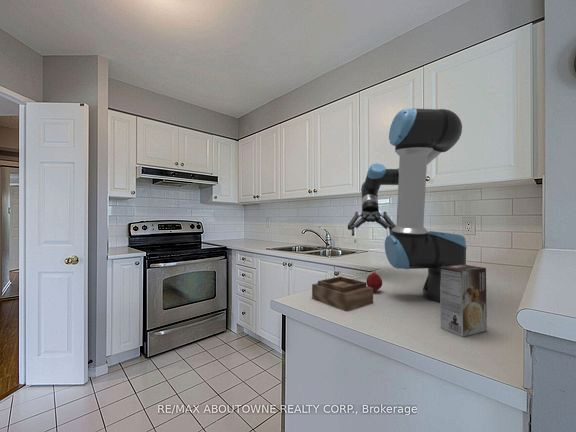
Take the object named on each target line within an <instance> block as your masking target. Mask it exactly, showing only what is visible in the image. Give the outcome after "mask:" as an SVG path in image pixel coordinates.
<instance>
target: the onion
mask: <svg viewBox="0 0 576 432" xmlns="http://www.w3.org/2000/svg"><path fill="white" fill-rule="evenodd" d="M365 281H366V286H367V287H371V288H373V293H375V292H377V291H379V290H380V289H381V288H382V286H383V279H382V277H381V276H380V275H379V274H378V273H377V272H376V270H373V271H372V273H371V274H369V275H368V276H367V277H366V280H365Z"/></svg>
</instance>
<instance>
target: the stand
mask: <svg viewBox="0 0 576 432" xmlns="http://www.w3.org/2000/svg"><path fill="white" fill-rule="evenodd" d="M311 299H312V300H314V301H318V302H320V303H324V304H325V305H329V306H331V307H334V308H337V309H340V310H343V311H345V312H349V311H353V310H355V309H358V308H361V307H362V308H363V307H364V306H367V305H372V304H374V292H373V288H371V287H368V286H367V283H366V282H365V281H362V280H356V279H353V278H349V277H345V276H337V277H331V278H326V279H322V280H318V281H317V283H312V284H311Z"/></svg>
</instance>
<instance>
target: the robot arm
mask: <svg viewBox="0 0 576 432" xmlns="http://www.w3.org/2000/svg"><path fill="white" fill-rule="evenodd" d="M462 132H463V124H462V121H461V119H460V117H459V116H458V114H457V113H455V112H454V111H453V110H449V109H446V108H439V109H438V108H437V109H436V108H435V109H432V108H416V107H414V108H404V109H401V110H399V111H398V112H396V114H395V116H394V117H393V119H392V121H391V124H390V127H389V132H388V140H389V144H390V145H391V146H393V147H394V152H395V153H396V155H397V156H398V157H399V162H398V165H399V166H398V167H397V168H387V167H386V166H385V165H383V164H381V163H377V162H376V163H372V164H371V165H370V166H369V168H368V170H367V171H366V177H365V180H364V182H363V183H362V184H361V188H360V191H361V212H359V211H355V213H354V216H353V217H352V218H351V219H350V221H349V222H348V224H347V230H349V231H351V236H352V237H353V236H354V241H353V243H355V244H356V243H357V229H358V228H359V227H360V226H361V225H363V224H365V223H366V222H367V223H377V224H379V225H380V226H381V227H383V228H384V229H385V230H386V238H385V239H384V253H385V256H386V259H387V261H388V262H389V264H390V265H391V266H392V267H393V268H395V269H402V270H403V269H404V270H413V269H415V270H417V269H427V272H428V273H427V276H426V279H425V281H424V284H423V288H422V296H423V297H424V298H426V299H428V300H430V301H434V302H439V303H440V267H444V266H453V265H462V264H463V265H467V241H466V238H465V236H464V235H462V234H457V233H450V232H449V233H448V232H443V231H442V232H440V231H434V230H433V231H432V230H429V231H428V230H427V229H426V228H425V226H424V223H425V222H424V221H425V205H426V190H427V189H426V188H427V187H426V186H427V185H426V184H427V166H428V164H430V163H432V162H433V161H434V159H435V158H437V157H438V156H440V154H442V153H446V152H448V151H450V149H452V148H453V147H454V146H455V145H456V144H457V142H458V141H459V140H460V138H461V136H462ZM381 186H397V207H396V209H397V210H396V223H394V222H393V220H392V219H391V218H390V217H389V216H388V213H387V212H386V211H383V212H382V213H380V211H379V210H380V209H379V208H380V207H379V198H378V192H379V190H380V188H381ZM359 218H360V219H359Z"/></svg>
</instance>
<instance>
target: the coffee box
mask: <svg viewBox="0 0 576 432" xmlns="http://www.w3.org/2000/svg"><path fill="white" fill-rule="evenodd" d="M439 303H440V305H439V307H440V313H439V314H440V329H442V330H445V331H448V332H451V333H453V334H455V335H457V336H459V337H461V338H466V337H469V336H472V335H476V334H479V333H482V332H486V331H487V330H488V328H487V327H488V326H487V325H488V323H487V322H488V321H487V317H488V316H487V313H488V312H487V310H488V309H487V268H486V267H482V266H481V267H480V266H475V265H468V264H466V265H463V264H462V265H453V266H444V267H440V302H439Z"/></svg>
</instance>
